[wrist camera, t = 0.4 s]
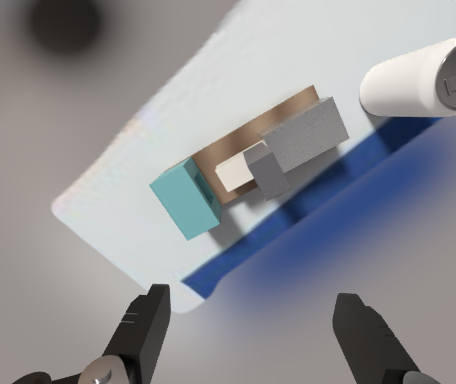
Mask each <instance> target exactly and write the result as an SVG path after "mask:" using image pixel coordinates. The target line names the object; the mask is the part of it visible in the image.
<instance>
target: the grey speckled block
mask: <svg viewBox="0 0 456 384" xmlns="http://www.w3.org/2000/svg"><path fill="white" fill-rule="evenodd" d="M258 135H259V137H260V139H261V140H264V141H265V143H266V145H267V147H268V148H269V149H270V150H271V151H272V152H273V153H274V155H275V157H276V159H277V161H278V163H279V165H280V167H281V169H282V171H283V173H286V172H287V171H289V170H291V169H293V168H295V167H297V166H299V165H301V164H302V163H304V162H306V161H308V160H310V159H312V158H314V157H316V156H317V155H319V154H321V153H323V152H325V151H327V150H329V149H331V148H332V147H334V146H336V145H338V144H340V143H342V142H344V141H346V140H347V139H349V136H348V133H347V131H346V129H345V126H344V124H343V121H342V119H341V116H340V114H339V112H338V109H337V107H336V104H335V102H334V100H333V97H328V98H322V99H316V100H313V101H312V102H310V103H308V104H306V105H305V106H303V107H301V108H299V109H298V110H296V111H294V112H292V113H291V114H289V115H287V116H285V117H284V118H282V119H280V120H278V121H277V122H275V123H273V124H271V125H270V126H268V127H266V128H264V129H263V130H261V131H259V132H258Z"/></svg>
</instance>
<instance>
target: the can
mask: <svg viewBox="0 0 456 384" xmlns="http://www.w3.org/2000/svg"><path fill="white" fill-rule="evenodd" d="M360 101H361V104H362V106H363V107H364V109H365V110H366V111H367V112H369V113H370V114H373V115H376V116H395V117H449V116H455V115H456V38H452V39H449V40H446V41H443V42H439V43H436V44H433V45H431V46H428V47H425V48H422V49H419V50H416V51H413V52H410V53H407V54H404V55H401V56H398V57H395V58H393V59H390V60H387V61H384V62H382V63H379V64H377V65H376V66H374V67H373V68H372V69H370V70H369V72H368V73H367V74H366V75H365V77H364V79H363V81H362V83H361V86H360Z"/></svg>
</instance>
